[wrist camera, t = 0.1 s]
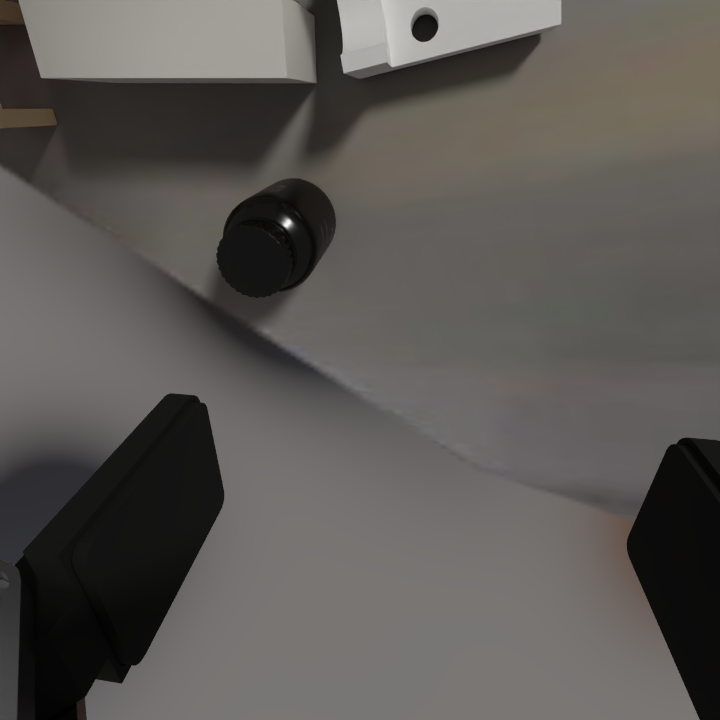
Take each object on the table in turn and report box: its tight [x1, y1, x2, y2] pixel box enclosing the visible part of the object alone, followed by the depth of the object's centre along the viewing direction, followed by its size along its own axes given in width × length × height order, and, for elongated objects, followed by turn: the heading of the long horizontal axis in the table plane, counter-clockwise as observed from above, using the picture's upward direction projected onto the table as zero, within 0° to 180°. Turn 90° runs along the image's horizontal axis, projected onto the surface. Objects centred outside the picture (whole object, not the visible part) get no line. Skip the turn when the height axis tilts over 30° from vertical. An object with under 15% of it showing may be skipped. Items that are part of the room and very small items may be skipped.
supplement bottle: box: [216, 178, 336, 298], centre depth 33 cm, size 7×7×12 cm
